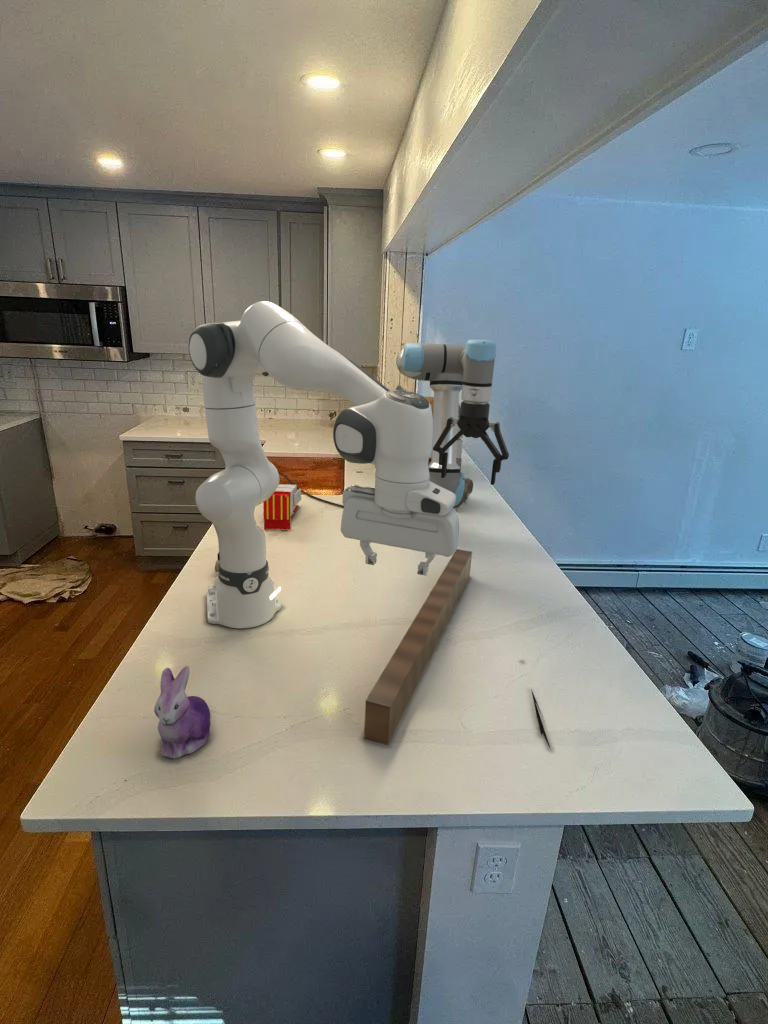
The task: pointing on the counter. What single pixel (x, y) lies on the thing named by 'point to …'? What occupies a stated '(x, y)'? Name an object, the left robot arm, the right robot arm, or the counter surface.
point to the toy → (281, 507)
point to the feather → (539, 718)
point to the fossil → (466, 492)
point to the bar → (414, 652)
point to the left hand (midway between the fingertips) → (396, 568)
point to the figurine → (180, 716)
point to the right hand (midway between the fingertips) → (467, 480)
